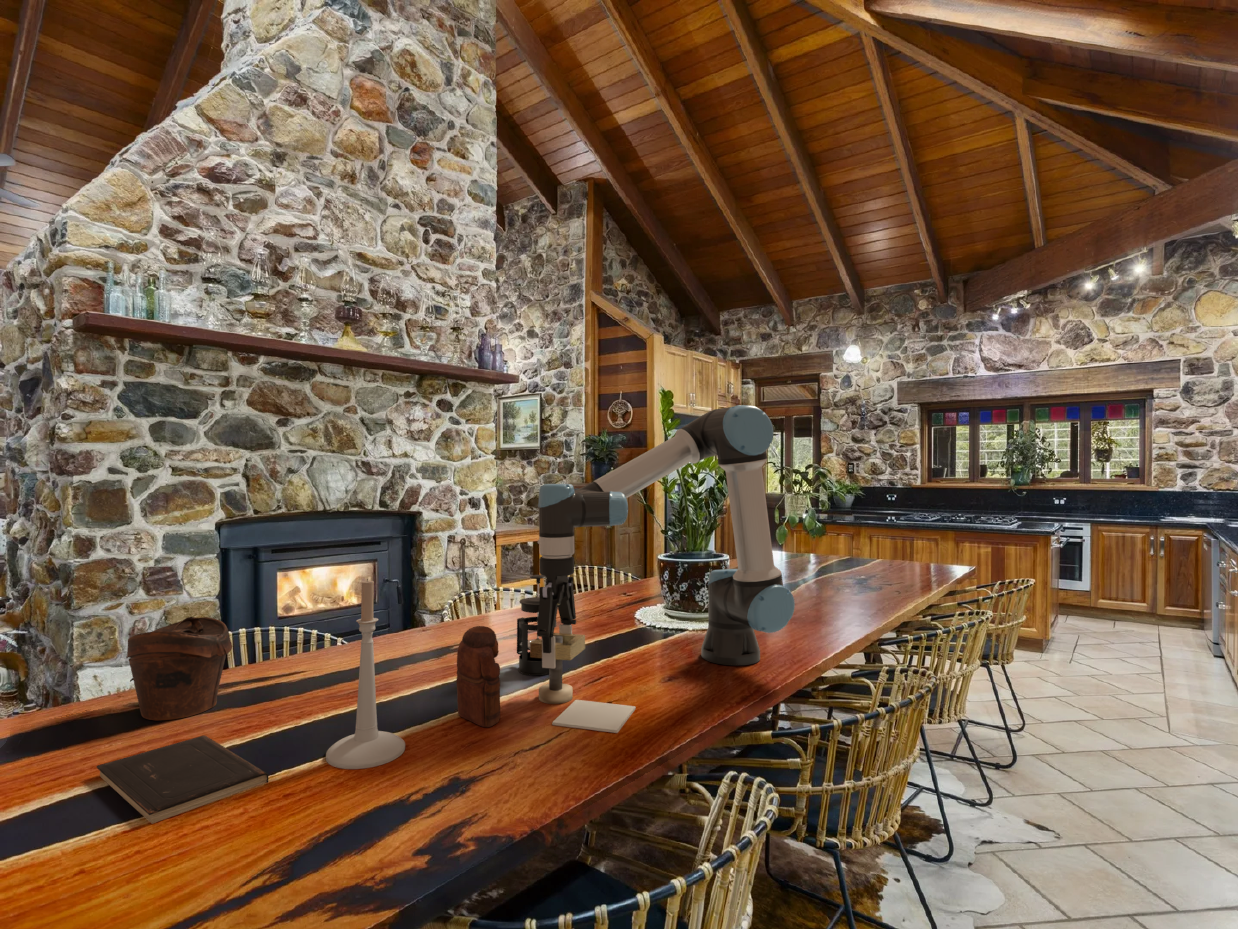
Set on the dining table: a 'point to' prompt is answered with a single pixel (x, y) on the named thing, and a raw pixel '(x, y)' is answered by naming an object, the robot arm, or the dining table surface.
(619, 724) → the felt mat
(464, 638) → the wooden figurine
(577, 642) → the brass C-link
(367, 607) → the candlestick
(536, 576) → the french press
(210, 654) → the case
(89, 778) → the dining table surface
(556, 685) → the peg stand
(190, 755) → the hardcover book
